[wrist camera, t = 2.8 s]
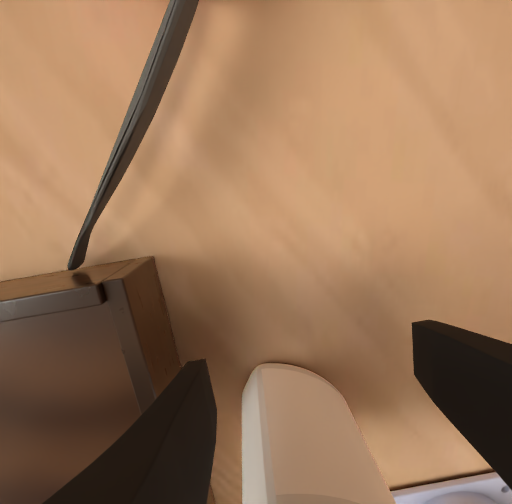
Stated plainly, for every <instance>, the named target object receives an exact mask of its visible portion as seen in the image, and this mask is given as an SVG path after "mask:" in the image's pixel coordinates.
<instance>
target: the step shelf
mask: <svg viewBox="0 0 512 504" xmlns="http://www.w3.org/2000/svg"><path fill="white" fill-rule="evenodd" d="M180 370H181V366H180V362H179V358H178V354H177V350H176V346H175V342H174V338H173V334H172V330H171V326H170V322H169V318H168V314H167V310H166V306H165V302H164V298H163V294H162V290H161V286H160V282H159V278H158V274H157V270H156V266H155V262H154V258H153V256H149V257H143V258H138V259H132V260H126V261H120V262H114V263H108V264H102V265H96V266H91V267H85V268H79V269H75V270H67V271H61V272H55V273H50V274H44V275H38V276H32V277H26V278H20V279H15V280H9V281H3V282H0V504H42V503H43V502H44V501H46V500H47V499H48V498H50V497H51V496H52V495H53V494H54V493H56V492H57V491H58V490H59V489H61V488H62V487H63V486H64V485H66V484H67V483H68V482H69V481H70V480H72V479H73V478H74V477H75V476H77V475H78V474H79V473H80V472H82V471H83V470H84V469H85V468H86V467H88V466H89V465H90V464H91V463H92V462H93V461H94V460H96V459H97V458H98V457H99V456H100V455H101V454H102V453H103V452H104V451H106V450H107V449H108V448H109V447H110V446H111V445H112V444H113V443H114V442H115V441H116V440H117V439H118V438H119V437H120V436H122V435H123V434H124V433H125V432H126V431H127V430H128V429H129V427H130V426H131V425H132V424H133V423H134V422H135V421H136V420H137V419H138V418H139V417H140V416H141V415H142V414H143V413H144V412H145V411H146V409H147V408H148V407H149V406H150V405H151V404H152V403H153V402H154V401H155V400H156V398H157V397H158V396H159V395H160V394H161V393H162V391H163V390H164V389H165V388H166V387H167V386H168V385H169V383H170V382H171V381H172V380H173V379H174V377H175V376H176V375H177V374H178V373H179V371H180ZM207 504H215V501H214V497H213V493H212V489H211V485H209V492H208V498H207Z"/></svg>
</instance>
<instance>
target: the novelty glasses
mask: <svg viewBox="0 0 512 504" xmlns="http://www.w3.org/2000/svg"><path fill="white" fill-rule="evenodd" d="M198 2H199V0H170V2H169V5H168V7H167V10H166V13H165V15H164V18H163V20H162V23H161V26H160V28H159V31H158V33H157V36H156V39H155V41H154V44H153V46H152V49H151V51H150V54H149V57H148V59H147V62H146V64H145V67H144V70H143V72H142V75H141V77H140V80H139V83H138V85H137V88H136V90H135V93H134V96H133V98H132V101H131V103H130V106H129V108H128V111H127V114H126V116H125V119H124V121H123V124H122V127H121V129H120V132H119V134H118V137H117V140H116V142H115V145H114V147H113V150H112V152H111V155H110V158H109V160H108V163H107V165H106V168H105V171H104V173H103V176H102V178H101V181H100V184H99V186H98V189H97V191H96V194H95V196H94V199H93V202H92V204H91V207H90V209H89V212H88V214H87V216H86V219H85V221H84V224H83V226H82V228H81V231H80V233H79V235H78V238H77V240H76V243H75V246H74V248H73V251H72V254H71V256H70V259H69V263H68V270H75V269H77V268H78V267H79V266H80V265H81V264H82V263H83V262H84V259H85V255H86V251H87V247H88V242H89V238H90V234H91V231H92V229H93V227H94V225H95V223H96V221H97V219H98V218H99V216H100V214H101V213H102V211H103V209H104V208H105V206H106V204H107V203H108V201H109V199H110V198H111V196H112V194H113V192H114V191H115V189H116V187H117V186H118V184H119V182H120V181H121V179H122V177H123V175H124V173H125V172H126V170H127V168H128V166H129V165H130V163H131V161H132V159H133V157H134V155H135V153H136V151H137V149H138V147H139V145H140V143H141V141H142V139H143V137H144V135H145V133H146V131H147V129H148V127H149V125H150V123H151V121H152V119H153V117H154V115H155V113H156V110H157V108H158V106H159V103H160V101H161V98H162V96H163V94H164V91H165V89H166V87H167V84H168V82H169V79H170V77H171V75H172V72H173V70H174V68H175V65H176V63H177V60H178V58H179V55H180V53H181V50H182V47H183V44H184V42H185V39H186V36H187V33H188V31H189V28H190V25H191V23H192V20H193V17H194V14H195V11H196V8H197V5H198ZM165 27H166V28H165ZM164 30H165V31H164Z"/></svg>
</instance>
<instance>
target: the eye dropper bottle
mask: <svg viewBox="0 0 512 504" xmlns="http://www.w3.org/2000/svg"><path fill="white" fill-rule="evenodd" d="M242 504H396V502H395V500H394V498H393V496H392V494H391V492H390V490H389V488H388V486H387V484H386V482H385V480H384V478H383V476H382V474H381V472H380V469H379V467H378V465H377V463H376V461H375V459H374V457H373V455H372V453H371V451H370V449H369V447H368V445H367V443H366V441H365V439H364V437H363V435H362V433H361V431H360V429H359V427H358V425H357V423H356V421H355V419H354V417H353V415H352V413H351V411H350V409H349V407H348V405H347V403H346V401H345V399H344V397H343V396H342V394H341V393H340V392H339V391H338V390H337V389H336V388H335V387H334V386H333V385H332V384H331V383H329V382H328V381H327V380H325V379H324V378H322V377H321V376H319V375H317V374H316V373H314V372H311V371H309V370H307V369H304V368H301V367H298V366H293V365H288V364H280V363H265V364H261V365H258V366H257V367H256V368H255V369H254V370H253V371H252V373H251V375H250V377H249V379H248V381H247V383H246V385H245V387H244V390H243V393H242Z"/></svg>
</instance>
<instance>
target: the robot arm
mask: <svg viewBox="0 0 512 504" xmlns="http://www.w3.org/2000/svg"><path fill="white" fill-rule="evenodd" d="M412 339H413V361H414V375H415V377H416V378H417V380H418V381H419V383H420V384H421V386H422V387H423V389H424V390H425V391H426V393H427V394H428V395H429V397H430V398H431V400H432V401H433V402H434V403H435V405H436V406H437V407H438V408H439V409H440V410H441V411H442V413H443V414H444V415H445V416H446V417H447V418H448V419H449V420H450V422H451V423H452V424H453V425H454V426H455V427H456V428H457V429H458V430H459V432H460V433H461V434H462V435H463V436H464V437H465V438H466V439H467V440H468V442H469V443H470V444H471V445H472V446H473V447H474V448H475V449H476V450H477V452H478V453H479V454H480V455H481V456H482V457H483V458H484V459H485V460H486V461H487V463H488V464H489V465H490V466H491V467H492V468H493V469H494V470H495V471H496V472H492V473H487V474H481V475H476V476H470V477H465V478H460V479H454V480H449V481H444V482H438V483H433V484H427V485H422V486H417V487H411V488H406V489H401V490H395V491H390V492H391V494H392V496H393V498H394V500H395V502H396V504H512V344H510V343H506V342H503V341H500V340H497V339H493V338H490V337H487V336H484V335H481V334H477V333H474V332H471V331H468V330H465V329H461V328H458V327H455V326H452V325H448V324H445V323H441V322H437V321H433V320H425V321H419V322H413V323H412ZM216 427H217V407H216V403H215V399H214V394H213V390H212V385H211V381H210V376H209V372H208V367H207V363H206V359H201V360H195V361H189V362H187V363H186V364H185V366H184V367H183V368H182V369H181V370H180V371H179V373H178V374H177V375H176V376H175V377H174V379H173V380H172V381H171V382H170V383H169V385H168V386H167V387H166V388H165V389H164V390H163V391H162V393H161V394H160V395H159V396H158V397H157V398H156V400H155V401H154V402H153V403H152V404H151V405H150V406H149V407H148V408H147V409H146V411H145V412H144V413H143V414H142V415H141V416H140V417H139V418H138V419H137V420H136V421H135V422H134V423H133V424H132V425H131V426H130V427H129V429H128V430H127V431H126V432H125V433H124V434H123V435H122V436H120V437H119V438H118V439H117V440H116V441H115V442H114V443H113V444H112V445H111V446H110V447H109V448H108V449H107V450H106V451H104V452H103V453H102V454H101V455H100V456H99V457H98V458H97V459H96V460H94V461H93V462H92V463H91V464H90V465H89V466H88V467H86V468H85V469H84V470H83V471H82V472H80V473H79V474H78V475H77V476H75V477H74V478H73V479H72V480H70V481H69V482H68V483H67V484H66V485H64V486H63V487H62V488H61V489H59V490H58V491H57V492H56V493H54V494H53V495H52V496H51V497H50V498H48V499H47V500H46V501H44V502H43V503H42V504H207V498H208V492H209V485H210V478H211V472H212V465H213V458H214V451H215V444H216Z"/></svg>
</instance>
